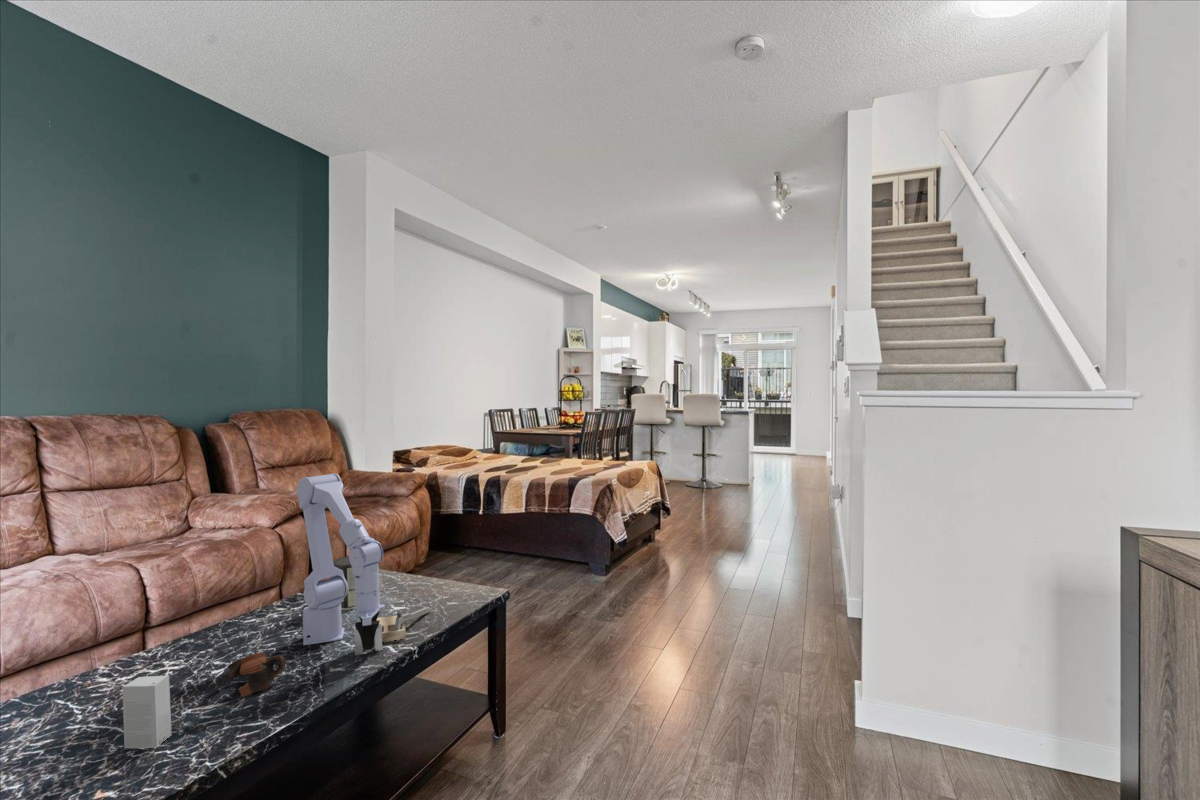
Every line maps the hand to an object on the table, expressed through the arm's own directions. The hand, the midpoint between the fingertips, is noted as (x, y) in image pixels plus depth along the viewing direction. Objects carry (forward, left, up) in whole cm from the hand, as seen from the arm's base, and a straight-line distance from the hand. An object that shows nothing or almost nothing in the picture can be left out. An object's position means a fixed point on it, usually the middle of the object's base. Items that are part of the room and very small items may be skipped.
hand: (369, 643), depth 148 cm
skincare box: (-38, -27, -2) cm, 47 cm away
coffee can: (-7, +39, -2) cm, 40 cm away
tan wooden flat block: (+4, +10, -2) cm, 11 cm away
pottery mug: (-23, -9, -2) cm, 25 cm away
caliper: (+12, +14, -2) cm, 18 cm away
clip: (0, 0, -2) cm, 2 cm away
